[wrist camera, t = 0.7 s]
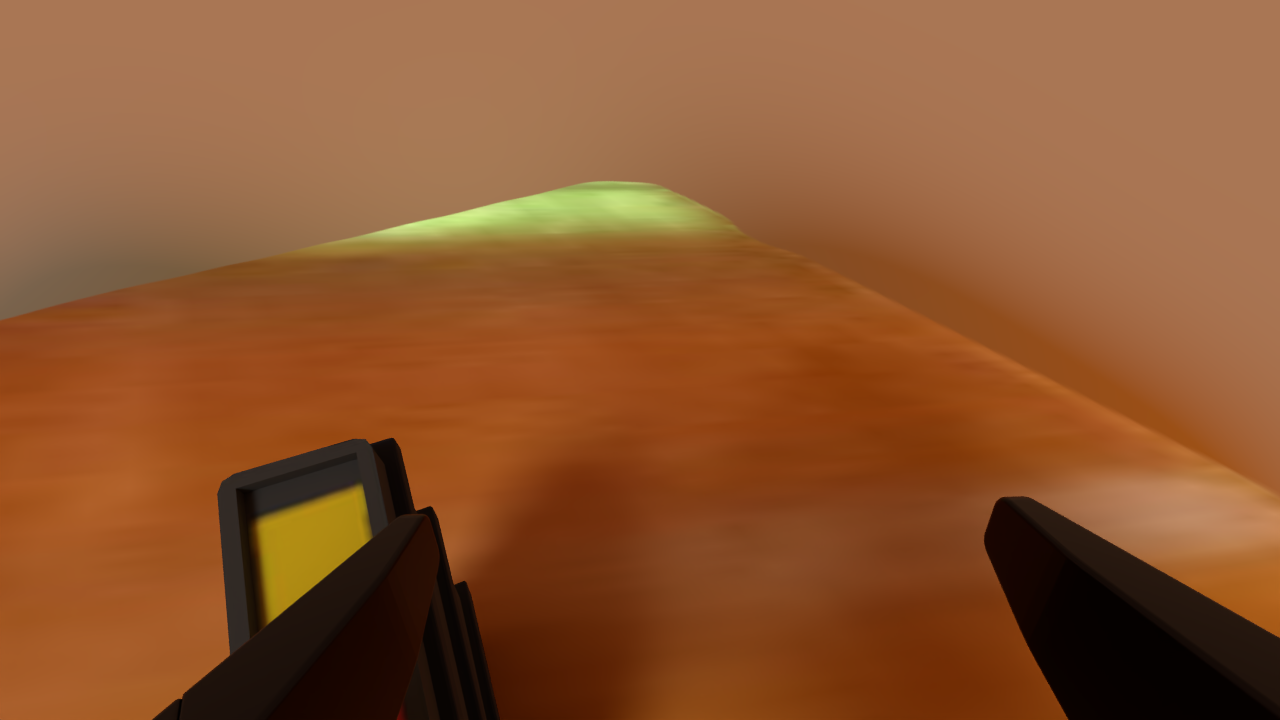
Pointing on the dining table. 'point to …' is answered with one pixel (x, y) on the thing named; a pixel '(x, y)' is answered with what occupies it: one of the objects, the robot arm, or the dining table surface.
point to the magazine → (323, 539)
